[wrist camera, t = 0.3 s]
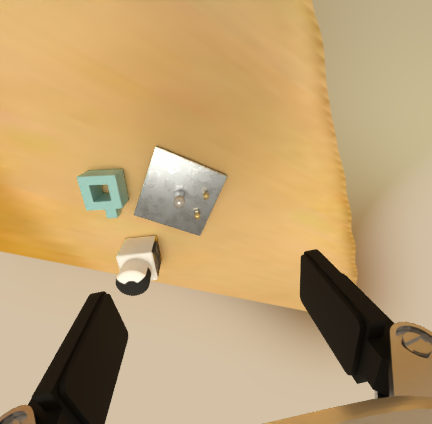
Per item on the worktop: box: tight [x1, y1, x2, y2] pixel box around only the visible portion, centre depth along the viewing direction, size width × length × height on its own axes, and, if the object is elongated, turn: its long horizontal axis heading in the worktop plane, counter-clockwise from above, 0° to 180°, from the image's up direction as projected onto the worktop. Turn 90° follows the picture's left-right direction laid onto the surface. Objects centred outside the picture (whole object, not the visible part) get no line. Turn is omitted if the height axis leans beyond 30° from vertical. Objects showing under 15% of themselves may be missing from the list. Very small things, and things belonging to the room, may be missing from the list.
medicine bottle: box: [116, 235, 161, 296], centre depth 44 cm, size 7×7×12 cm
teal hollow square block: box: [77, 169, 129, 218], centre depth 41 cm, size 9×6×5 cm
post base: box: [134, 146, 227, 236], centre depth 43 cm, size 15×15×6 cm
